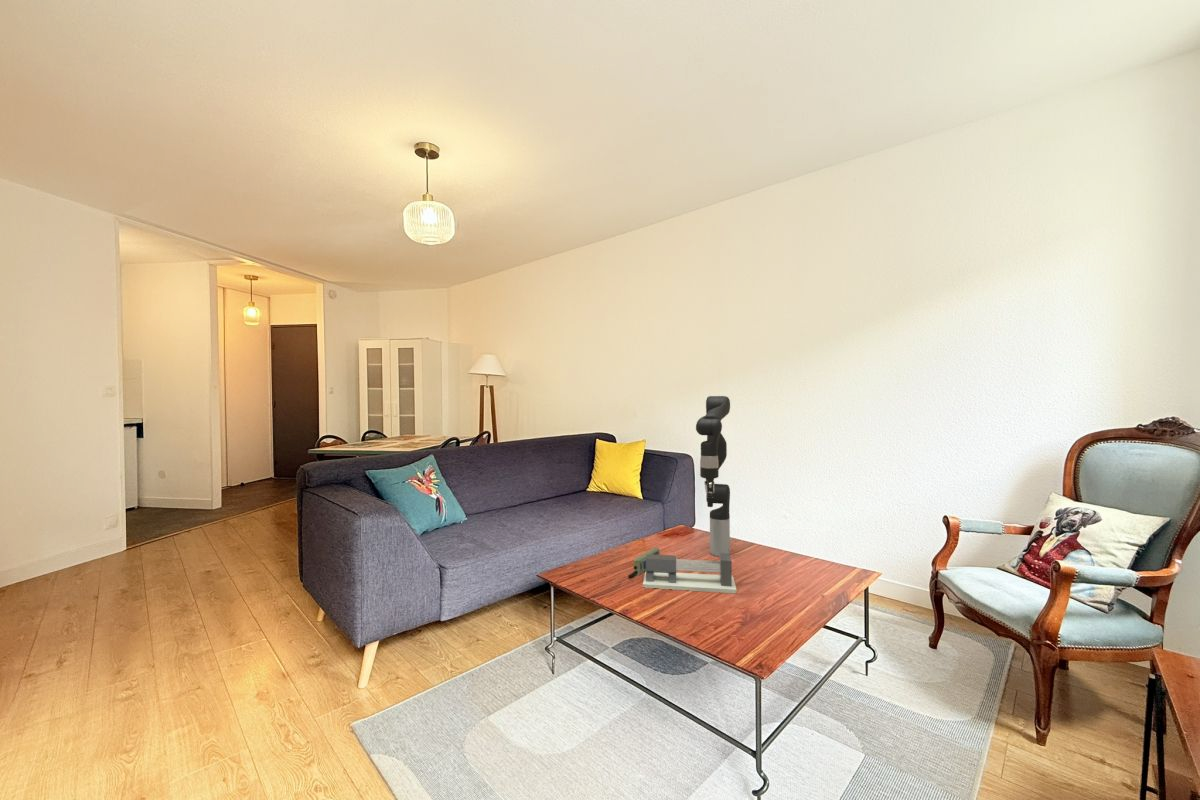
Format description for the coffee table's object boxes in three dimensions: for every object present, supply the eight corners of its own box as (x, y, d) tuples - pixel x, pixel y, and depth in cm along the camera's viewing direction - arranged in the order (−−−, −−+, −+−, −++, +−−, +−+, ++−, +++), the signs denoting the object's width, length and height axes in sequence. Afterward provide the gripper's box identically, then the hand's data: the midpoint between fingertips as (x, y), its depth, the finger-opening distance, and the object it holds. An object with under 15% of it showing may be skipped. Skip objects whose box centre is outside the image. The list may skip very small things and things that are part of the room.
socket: (719, 577, 195) (719, 553, 195) (729, 578, 194) (729, 553, 194) (721, 585, 187) (720, 560, 187) (731, 586, 186) (731, 560, 186)
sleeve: (647, 573, 200) (647, 553, 200) (676, 575, 198) (676, 554, 198) (645, 581, 192) (645, 559, 192) (676, 583, 190) (675, 561, 190)
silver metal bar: (666, 566, 196) (666, 558, 196) (726, 569, 192) (726, 561, 192) (665, 569, 193) (665, 561, 193) (726, 572, 189) (726, 564, 189)
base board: (645, 574, 203) (645, 570, 203) (732, 579, 197) (732, 575, 197) (642, 587, 189) (642, 584, 189) (736, 593, 183) (736, 589, 183)
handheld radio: (661, 562, 218) (633, 580, 197) (654, 561, 220) (626, 579, 199) (660, 547, 218) (632, 564, 197) (654, 546, 220) (625, 563, 199)
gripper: (719, 469, 193) (720, 508, 193) (717, 463, 207) (717, 500, 207) (700, 468, 194) (701, 508, 194) (699, 463, 208) (699, 500, 208)
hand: (709, 504), depth 201 cm, fingers open, 8 cm apart
